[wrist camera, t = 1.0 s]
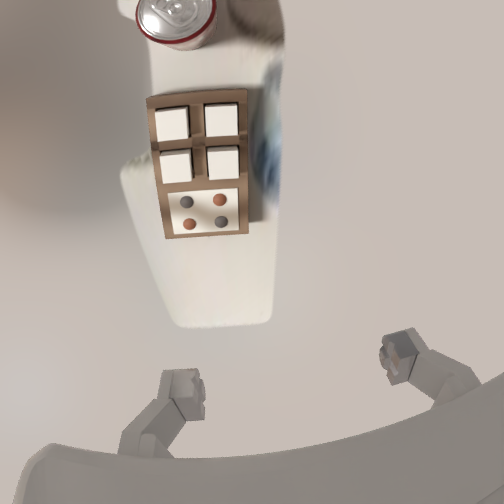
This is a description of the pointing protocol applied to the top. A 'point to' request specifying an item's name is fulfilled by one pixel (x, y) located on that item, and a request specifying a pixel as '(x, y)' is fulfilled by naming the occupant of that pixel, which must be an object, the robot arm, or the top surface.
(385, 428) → the robot arm
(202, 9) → the soda can
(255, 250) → the top surface
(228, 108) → the button
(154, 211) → the top surface
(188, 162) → the button
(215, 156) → the button
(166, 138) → the button
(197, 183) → the button board
